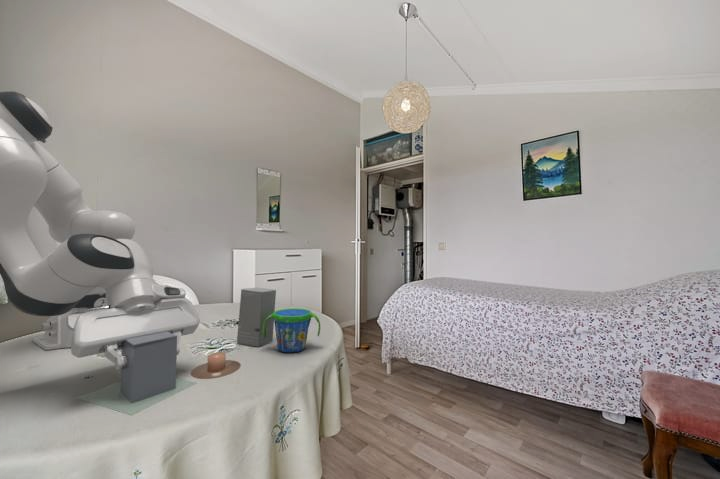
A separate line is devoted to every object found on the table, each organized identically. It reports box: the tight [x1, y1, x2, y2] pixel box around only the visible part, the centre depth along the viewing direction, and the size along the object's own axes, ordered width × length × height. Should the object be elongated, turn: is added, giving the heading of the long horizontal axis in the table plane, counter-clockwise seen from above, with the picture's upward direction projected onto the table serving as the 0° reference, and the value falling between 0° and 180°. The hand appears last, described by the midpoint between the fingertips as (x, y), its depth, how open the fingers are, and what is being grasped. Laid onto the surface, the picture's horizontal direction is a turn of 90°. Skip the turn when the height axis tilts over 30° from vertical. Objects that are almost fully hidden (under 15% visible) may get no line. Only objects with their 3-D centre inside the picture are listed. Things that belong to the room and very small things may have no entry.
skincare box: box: [236, 287, 277, 348], centre depth 85 cm, size 8×7×16 cm
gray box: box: [120, 331, 178, 403], centre depth 54 cm, size 7×7×10 cm
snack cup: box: [263, 308, 321, 353], centre depth 79 cm, size 16×10×10 cm
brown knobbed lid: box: [190, 351, 241, 380], centre depth 64 cm, size 10×10×4 cm
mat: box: [76, 377, 197, 416], centre depth 54 cm, size 15×12×1 cm
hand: (150, 360), depth 54 cm, fingers closed on gray box, 7 cm apart
